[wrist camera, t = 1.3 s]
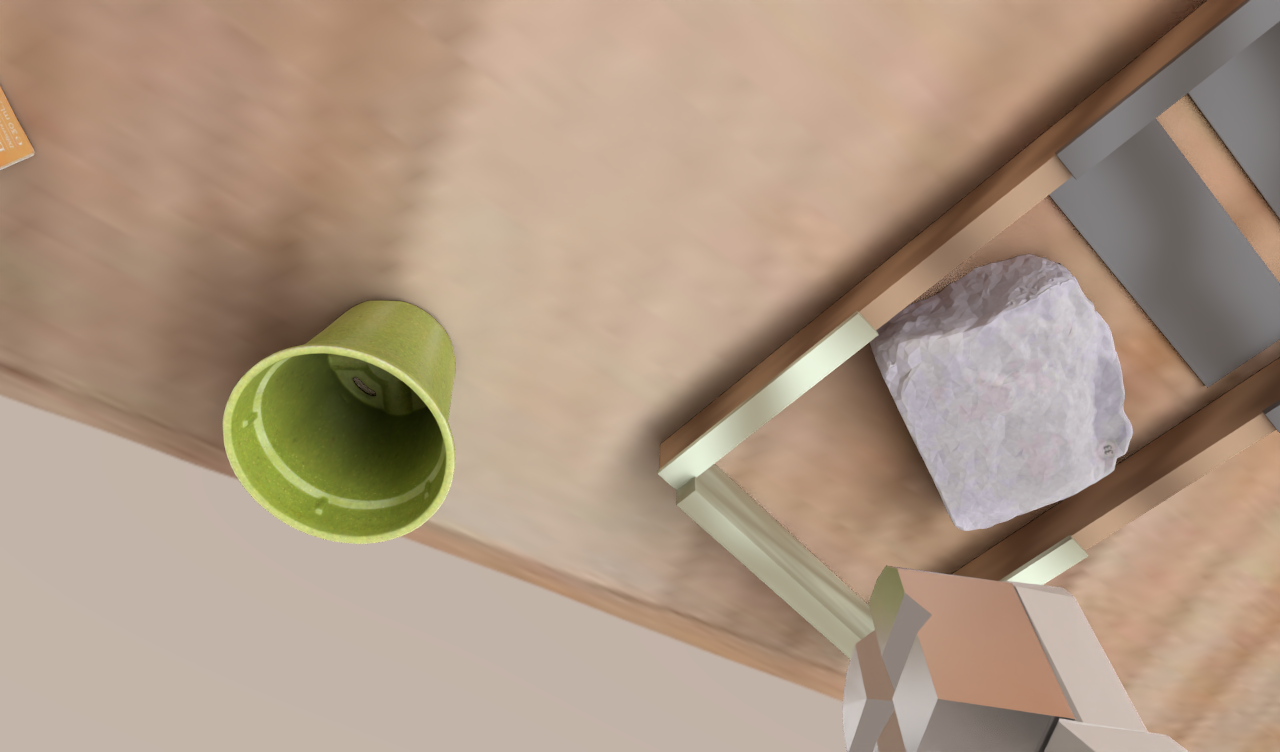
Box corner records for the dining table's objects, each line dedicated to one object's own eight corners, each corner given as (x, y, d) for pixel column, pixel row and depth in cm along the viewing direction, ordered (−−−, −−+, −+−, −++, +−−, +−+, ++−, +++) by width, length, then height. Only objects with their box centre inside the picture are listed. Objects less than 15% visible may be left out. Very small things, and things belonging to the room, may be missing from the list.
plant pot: (414, 473, 52) (367, 581, 44) (258, 360, 49) (178, 454, 41) (530, 352, 48) (501, 447, 41) (368, 224, 46) (304, 299, 38)
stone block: (1032, 218, 47) (841, 329, 47) (1090, 247, 42) (880, 370, 43) (1108, 413, 51) (935, 511, 52) (1168, 457, 47) (978, 564, 48)
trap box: (1302, -80, 39) (1364, -73, 35) (1505, 238, 44) (1577, 272, 40) (658, 443, 50) (656, 487, 47) (880, 644, 56) (894, 698, 52)
